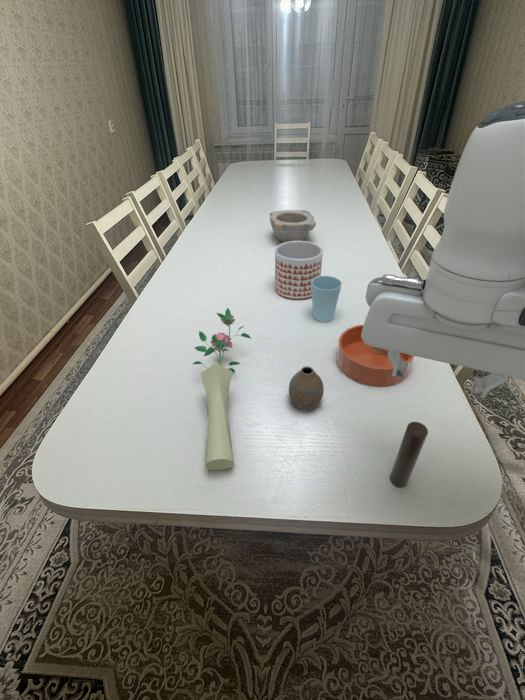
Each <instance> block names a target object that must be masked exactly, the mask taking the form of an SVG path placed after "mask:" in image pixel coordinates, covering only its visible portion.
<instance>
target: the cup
mask: <svg viewBox="0 0 525 700" xmlns="http://www.w3.org/2000/svg"><path fill="white" fill-rule="evenodd" d="M311 287H312V297H311V301H312V303H311V304H312V317H313V318H314V320H315V321H316V322H320V323H328V322H331V321H333V320H334V317H335V314H336V309H337V306H338V305H337V304H338V301H339V297H340V292H341V289H342V281H341V279H339V278H338V277H335V276H330V275H321V276H319V277H316V278H314V279H313V280H312V281H311Z"/></svg>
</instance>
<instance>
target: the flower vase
mask: <svg viewBox="0 0 525 700" xmlns="http://www.w3.org/2000/svg"><path fill="white" fill-rule="evenodd" d="M216 315H217V316H218V317H219V318H220V321H221V323H222V324H223V325H225V326H226V327H228V334H225V332H218V333H217V334H216V333H215V334H212V337H211V340H210V344H211V346H210V345H209V344H208V343H207V341H206V340H207V339H208V337H207V335H206V334H205V333H204V332H202V331H201V330H199V331H198V336H199V340H200V341H201V342H205V344H206V345H207V346H208V348H207V346H205V345H197V346H195V347H194V349H195V350H196V351H197V352H201V353H204V354H203V357H206V356H210V355H211V354H213V353H215V357H216V360H217V362H214V363H213V364H211V365H210V366H209V367H205V370H203V371H202V372H200V375H201V379H202V383H203V387H204V392H205V395H206V401H207V411H208V412H207V434H206V435H207V436H206V445H205V457H204V458H205V459H204V467H205V469H207V470H211V471H225V470H228V469H230V468H232V467H233V466H234V465H235V461H234V460H235V459H234V454H233V448H232V440H231V431H230V424H229V416H228V399H229V392H230V386H231V381H232V375H233V373H235V374H236V369H234V368H233V367H228V366H238V365H241V362H238V361H237V360H236V361H233V360H231V361H229V362H228V365H227V364H226V366H225V365H223V366H222V365H221V364H222V361H223V357H224V354H225V352H229V349H233V341H232V337H231V328H230V327H231V325H233V324H234V323H236V322H235V320H236V319H235V316H234V315H232V313H231V310H230V309H229V307H226V309H225V311H224V314H223V313H219V312H216ZM244 327H245V326H244V325H243V326H240V327H239V328H238V329H237V331H240V330H241V329H243V328H244ZM238 333H239V332H237V334H235V335H234V337H238V336H239V337H240V336H241V337H243V338H245V339H246V338H247V339H252V337H251V336H250V334H249V333H246V332H242V333H241V334H238ZM228 348H229V349H228ZM216 351H217V352H216ZM221 353H222V354H221ZM192 365H203V363H202V362H201V361H200V360H196V361H194V362H193V363H192Z"/></svg>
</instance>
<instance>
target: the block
mask: <svg viewBox="0 0 525 700" xmlns="http://www.w3.org/2000/svg"><path fill="white" fill-rule="evenodd" d="M373 353H375V354H380V355H385V356H387V354H388V350H386V349H381V348H376V347H374V348H373Z"/></svg>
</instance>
